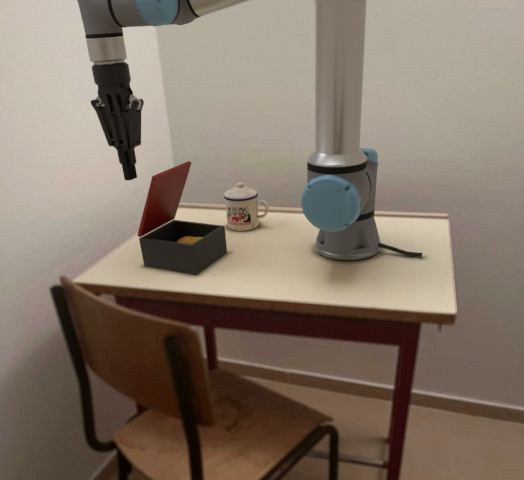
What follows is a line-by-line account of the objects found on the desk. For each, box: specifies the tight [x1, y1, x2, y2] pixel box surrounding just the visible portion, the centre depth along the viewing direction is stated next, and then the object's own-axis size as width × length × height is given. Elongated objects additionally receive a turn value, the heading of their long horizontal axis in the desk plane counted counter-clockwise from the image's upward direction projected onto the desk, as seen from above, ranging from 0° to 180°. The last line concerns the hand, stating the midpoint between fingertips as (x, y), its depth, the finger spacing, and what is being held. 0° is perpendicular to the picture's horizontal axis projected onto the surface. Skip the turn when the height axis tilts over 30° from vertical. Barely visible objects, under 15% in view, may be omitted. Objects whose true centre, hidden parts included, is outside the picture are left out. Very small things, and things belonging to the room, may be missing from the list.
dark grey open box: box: [138, 219, 228, 276], centre depth 122 cm, size 15×14×7 cm
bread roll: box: [177, 236, 203, 244], centre depth 122 cm, size 8×9×4 cm
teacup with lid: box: [223, 181, 270, 232], centre depth 139 cm, size 12×9×12 cm
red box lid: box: [136, 160, 192, 238], centre depth 118 cm, size 16×14×1 cm
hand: (131, 178), depth 119 cm, fingers closed
